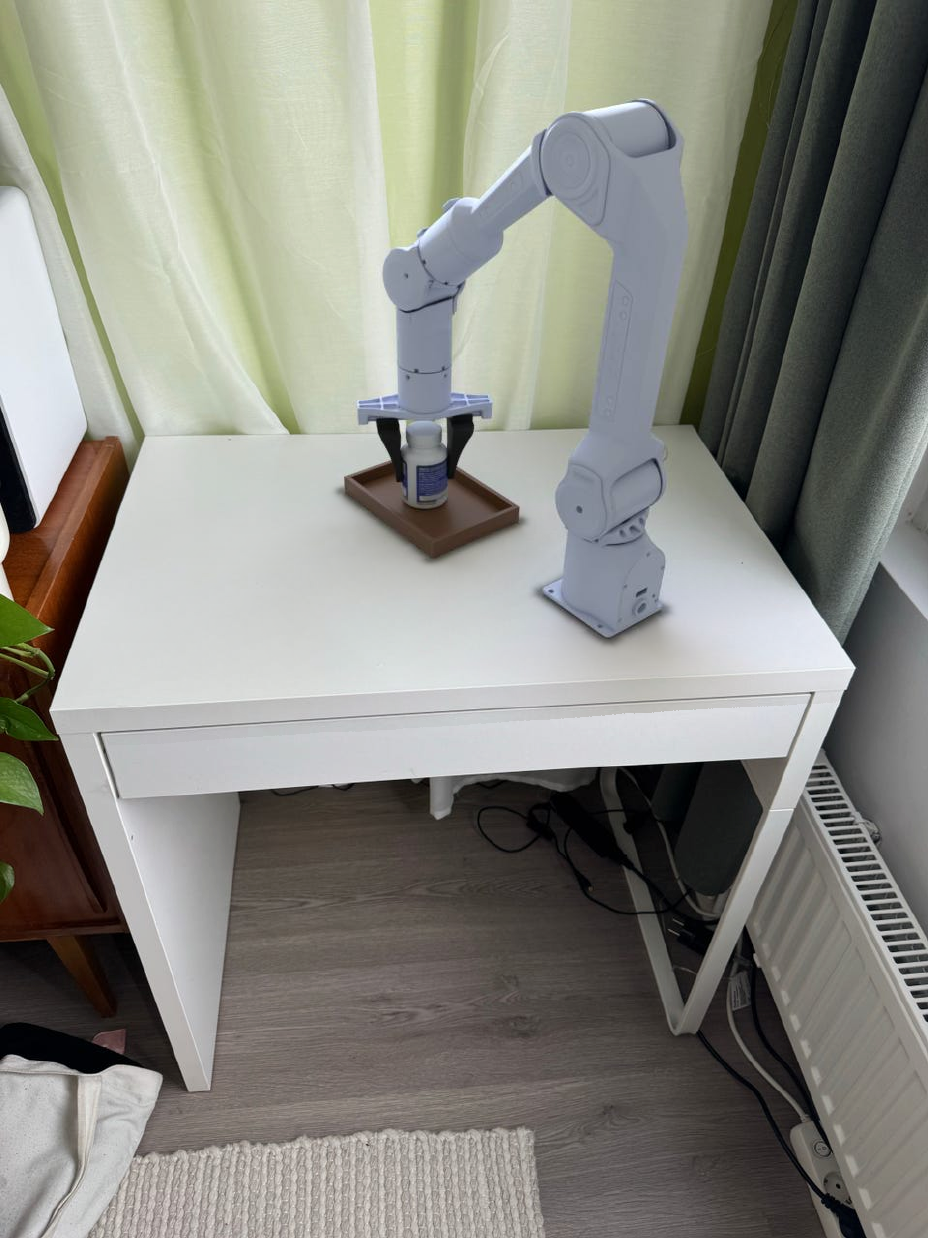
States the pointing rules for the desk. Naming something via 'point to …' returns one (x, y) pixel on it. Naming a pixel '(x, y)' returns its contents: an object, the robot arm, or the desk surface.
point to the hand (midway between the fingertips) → (424, 476)
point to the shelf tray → (434, 509)
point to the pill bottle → (424, 466)
